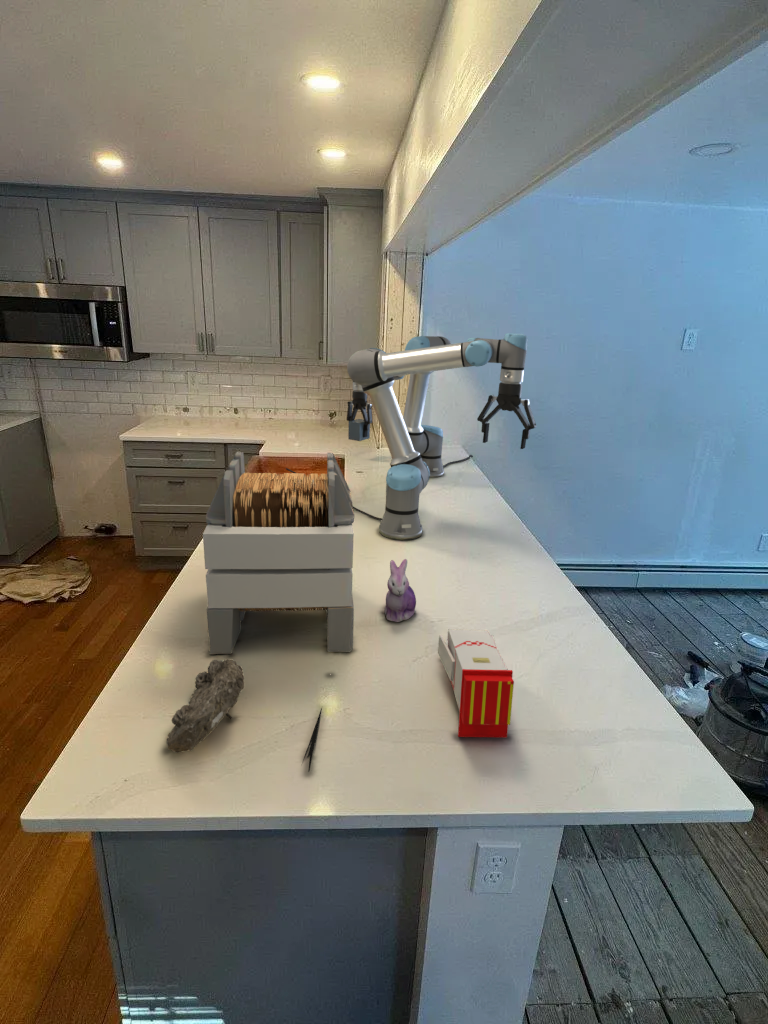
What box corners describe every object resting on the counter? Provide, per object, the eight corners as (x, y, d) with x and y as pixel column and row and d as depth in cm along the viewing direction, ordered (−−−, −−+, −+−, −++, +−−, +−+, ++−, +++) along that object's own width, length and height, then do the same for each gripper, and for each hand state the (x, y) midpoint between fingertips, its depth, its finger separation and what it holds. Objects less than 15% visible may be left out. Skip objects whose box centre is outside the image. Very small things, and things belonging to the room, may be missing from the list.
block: (348, 439, 291) (348, 421, 288) (358, 436, 298) (358, 418, 295) (359, 441, 287) (359, 422, 284) (369, 438, 295) (370, 420, 292)
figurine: (392, 627, 141) (395, 572, 136) (374, 608, 149) (376, 556, 144) (425, 619, 145) (429, 566, 140) (405, 601, 154) (408, 550, 149)
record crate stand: (229, 585, 158) (221, 442, 144) (346, 584, 161) (350, 444, 148) (206, 656, 126) (193, 481, 112) (353, 652, 130) (358, 483, 116)
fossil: (192, 660, 117) (244, 628, 112) (224, 691, 120) (276, 661, 115) (142, 746, 98) (202, 712, 93) (182, 779, 101) (242, 748, 96)
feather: (331, 679, 122) (336, 673, 122) (307, 777, 96) (313, 769, 95) (324, 675, 122) (329, 669, 121) (298, 772, 95) (304, 764, 95)
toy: (488, 613, 130) (523, 677, 101) (484, 667, 133) (517, 744, 104) (435, 612, 130) (455, 676, 101) (432, 666, 133) (451, 743, 103)
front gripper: (471, 379, 191) (465, 441, 198) (544, 387, 179) (535, 453, 186) (480, 377, 197) (474, 437, 204) (551, 385, 185) (542, 448, 192)
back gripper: (339, 389, 286) (339, 434, 294) (372, 393, 277) (371, 439, 284) (348, 388, 292) (347, 432, 300) (380, 392, 283) (379, 437, 290)
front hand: (503, 445), depth 195 cm, fingers open, 13 cm apart
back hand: (359, 435), depth 292 cm, fingers closed on block, 7 cm apart
